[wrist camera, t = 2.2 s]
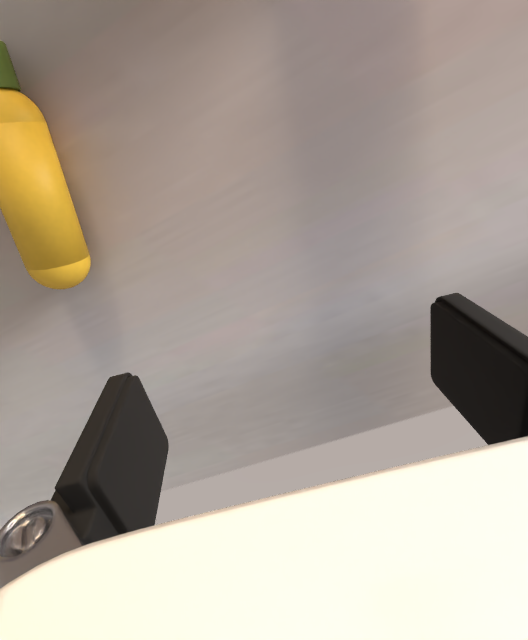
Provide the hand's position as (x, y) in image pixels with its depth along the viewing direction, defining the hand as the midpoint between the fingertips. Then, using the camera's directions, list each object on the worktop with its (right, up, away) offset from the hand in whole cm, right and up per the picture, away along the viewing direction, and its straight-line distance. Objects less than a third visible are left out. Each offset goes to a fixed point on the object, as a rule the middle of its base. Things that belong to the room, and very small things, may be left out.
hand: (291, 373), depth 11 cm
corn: (-17, +12, +15) cm, 26 cm away
